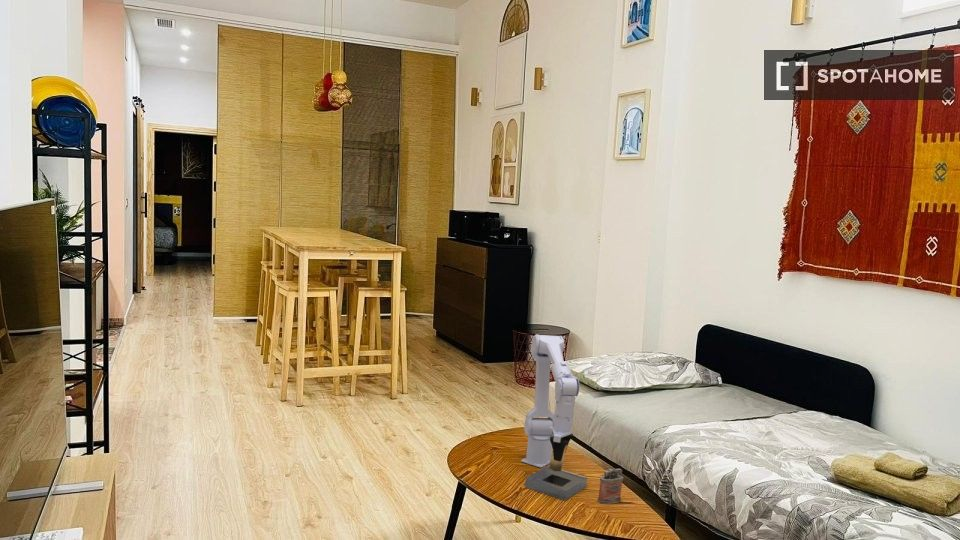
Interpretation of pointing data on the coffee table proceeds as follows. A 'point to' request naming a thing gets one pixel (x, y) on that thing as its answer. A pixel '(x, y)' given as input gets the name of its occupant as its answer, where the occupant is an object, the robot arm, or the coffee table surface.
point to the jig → (556, 483)
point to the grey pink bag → (610, 487)
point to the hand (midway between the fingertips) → (559, 458)
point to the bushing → (556, 462)
